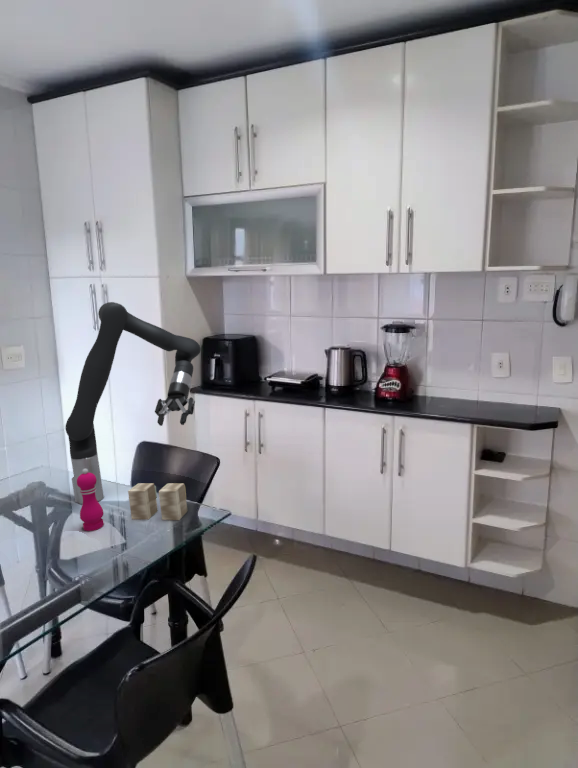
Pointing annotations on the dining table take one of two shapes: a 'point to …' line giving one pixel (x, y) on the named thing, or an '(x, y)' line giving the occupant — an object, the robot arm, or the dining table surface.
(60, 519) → the dining table surface
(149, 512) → the post left
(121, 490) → the dining table surface
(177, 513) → the post right
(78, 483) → the pepper mill
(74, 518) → the dining table surface
